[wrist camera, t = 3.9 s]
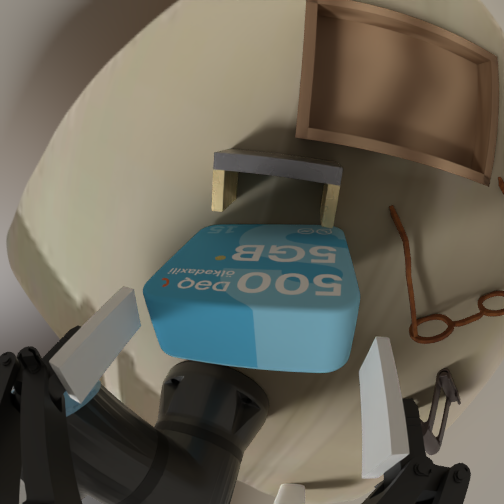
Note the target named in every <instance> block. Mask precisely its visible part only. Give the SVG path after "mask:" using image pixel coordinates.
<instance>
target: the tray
mask: <svg viewBox="0 0 504 504" xmlns="http://www.w3.org/2000/svg"><path fill="white" fill-rule="evenodd" d="M498 109H499V78H498V60H497V56H495V55H493V54H492V53H490V52H488V51H486V50H485V49H483V48H481V47H479V46H478V45H476V44H474V43H472V42H470V41H468V40H466V39H464V38H462V37H460V36H458V35H456V34H454V33H451V32H449V31H447V30H445V29H442V28H440V27H438V26H435V25H433V24H430V23H428V22H425V21H422V20H420V19H417V18H414V17H411V16H408V15H405V14H402V13H399V12H396V11H392V10H389V9H385V8H381V7H378V6H374V5H369V4H365V3H361V2H356V1H351V0H306V14H305V30H304V45H303V58H302V71H301V82H300V94H299V105H298V115H297V125H296V135H295V138H303V139H310V140H316V141H323V142H329V143H335V144H340V145H346V146H351V147H356V148H361V149H365V150H370V151H375V152H379V153H383V154H387V155H392V156H396V157H399V158H403V159H407V160H411V161H414V162H418V163H421V164H425V165H428V166H432V167H435V168H438V169H441V170H444V171H447V172H450V173H453V174H456V175H459V176H462V177H465V178H468V179H470V180H473V181H476V182H478V183H481V184H483V185H486V186H488V187H489V184H490V179H491V174H492V168H493V162H494V155H495V147H496V138H497V127H498Z"/></svg>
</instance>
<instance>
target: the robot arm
mask: <svg viewBox="0 0 504 504" xmlns="http://www.w3.org/2000/svg"><path fill="white" fill-rule="evenodd" d="M140 327H141V324H140V319H139V314H138V309H137V304H136V298H135V293H134V289H132V288H128V287H125V286H123V287H122V288H121V289H120V290H119V291H118V292H117V293H116V294H114V295H113V296H112V297H111V298H110V299H109V300H108V301H107V302H106V303H105V304H104V305H103V306H102V307H101V308H100V309H99V310H98V311H97V312H96V313H95V314H94V315H93V316H92V317H91V318H90V319H89V320H88V321H87V322H86V323H85V324H84V325H83V326H82V327H81V326H76V327H74V328H72V329H71V330H69V331H68V332H67V333H66V334H65V335H64V337H62V338H61V339H60V340H59V342H57V344H56V345H55V346H54V347H53V348H52V349H51V350H50V351H49V352H48V353H47V354H46V355H45V356H44V357H43V358H41V356H40V354H39V352H38V351H37V349H36V348H34V347H25V348H23V349H22V350H20V352H19V353H18V355H17V358H16V356H15V355H14V354H13V353H12V352H6V353H4V354H2V355H1V356H0V504H82V501H81V500H82V499H83V498H85V497H86V496H87V495H89V496H91V497H93V498H95V499H96V500H98V501H100V502H101V503H103V504H230V501H231V498H232V494H233V491H234V487H235V483H236V480H237V476H238V472H239V469H240V464H241V461H242V457H243V454H244V451H245V450H246V448H247V447H248V446H249V444H250V443H251V442H252V440H253V439H254V437H255V436H256V434H257V433H258V432H259V430H260V429H261V427H262V426H263V424H264V423H265V420H266V417H267V413H268V408H269V401H268V398H267V396H266V394H265V392H264V391H263V390H262V389H261V388H260V387H259V386H258V385H257V384H256V383H255V382H254V381H252V380H251V379H249V378H248V377H246V376H245V375H243V374H241V373H239V372H237V371H235V370H232V369H230V368H227V367H224V366H221V365H218V364H212V363H206V362H200V361H190V362H183V363H180V364H177V365H176V366H174V367H173V368H172V369H171V370H170V371H169V373H168V375H167V376H166V378H165V380H164V382H163V385H162V390H161V398H160V406H159V415H158V421H157V423H156V425H155V427H153V426H151V425H150V424H149V423H147V422H146V421H145V420H143V419H142V418H141V417H139V416H138V415H137V414H136V413H134V412H133V411H132V410H131V409H129V408H128V407H127V406H126V405H124V404H123V403H122V402H121V401H120V400H118V399H117V398H116V397H115V396H114V395H113V394H112V393H110V392H109V391H108V390H107V389H106V388H105V387H104V386H103V385H102V384H101V382H100V381H99V379H100V378H101V376H102V375H103V374H104V372H105V371H106V370H107V368H108V367H109V366H110V365H111V363H112V362H113V361H114V359H115V358H116V357H117V356H118V354H119V353H120V352H121V350H122V349H123V348H124V347H125V345H126V344H127V343H128V342H129V340H130V339H131V338H132V336H133V335H134V334H135V333H136V331H137V330H138V329H139V328H140ZM359 380H360V394H361V414H362V478H378V477H380V476H381V475H383V474H384V480H383V481H382V482H380V483H379V484H377V485H376V486H375V488H376V489H375V490H374V491H373V492H372V493H371V494H370V495H369V496H368V498H367V499H366V500H365V501H364V502H363V503H362V504H463V502H464V499H465V495H466V492H467V489H468V485H469V481H470V476H471V475H470V474H471V473H470V469H469V468H468V466H467V465H465V464H463V463H458V464H455V465H454V466H452V467H451V468H449V467H444V466H438V465H435V464H433V462H432V460H431V459H430V458H428V457H427V456H426V453H425V446H424V439H423V433H422V427H421V421H420V419H419V417H420V416H419V410H418V407H417V405H416V403H415V402H414V400H413V399H402V395H401V390H400V384H399V379H398V374H397V370H396V365H395V360H394V356H393V352H392V347H391V343H390V339H389V338H388V337H379V336H376V337H375V339H374V341H373V343H372V346H371V348H370V350H369V352H368V354H367V356H366V358H365V360H364V362H363V364H362V366H361V368H360V370H359ZM12 387H13V389H14V390H13V391H11V390H12Z"/></svg>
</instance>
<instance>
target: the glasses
mask: <svg viewBox="0 0 504 504" xmlns="http://www.w3.org/2000/svg"><path fill="white" fill-rule="evenodd" d="M498 181H499V187H500V189H501V190H502V192H503V194H504V182H503V180H502V178H501V177H498ZM389 209H390V213H391V216H392V219H393V221H394V223H395V225H396V227H397V230H398V232H399V234H400V237H401V239H402V241H403V246H404V254H405V265H406V280H407V286H408V293H409V301H410V309H411V318H412V324H411V325H410V327H409V334H410V337H411V338H412V339H413V340H414V341H415V342H418V343H422V344H429V343H435V342H438V341H441V340H443V339H445V338H446V337H448V336H449V335H450V334H451V333H452V332H453V330H454V327H459V326H463V325H466V324H469V323H471V322H474V321H476V320H478V319H480V318H481V317H482V316H483V315H485V316H501V315H504V309H501V310H488V309H486V308H485V307H484V306H483V304H482V303H483V302H484V301H485V300H486V299H488V298H490V297H494V296H503V297H504V291H493V292H491V293H489V294H486V295H484V296H481V297H480V298H479V300H478V308H479V310H480V312H479V313H477V314H475V315H472V316H470V317H467V318H465V319H462V320H459V321H452V320H451V319H450V318H448V317H447V316H445V315H442V314H432V315H429V316H426V317H423V318H420V319H417V320H416V310H415V301H414V293H413V285H412V279H411V257H410V248H409V241H408V237H407V235H406V233H405V230H404V228H403V226H402V224H401V221H400V219H399V217H398V215H397V213H396V211H395V209H394V206H393V205H392V206H389ZM429 320H442V321H444V322H445V323H446V324H447V325H448V328H447V329H446V330H445V331H444V332H443V333H441V334H439V335H436V336H433V337H421V336H419V335H418V332H417V326H418V325H419V324H421V323H423V322H426V321H429Z"/></svg>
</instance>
